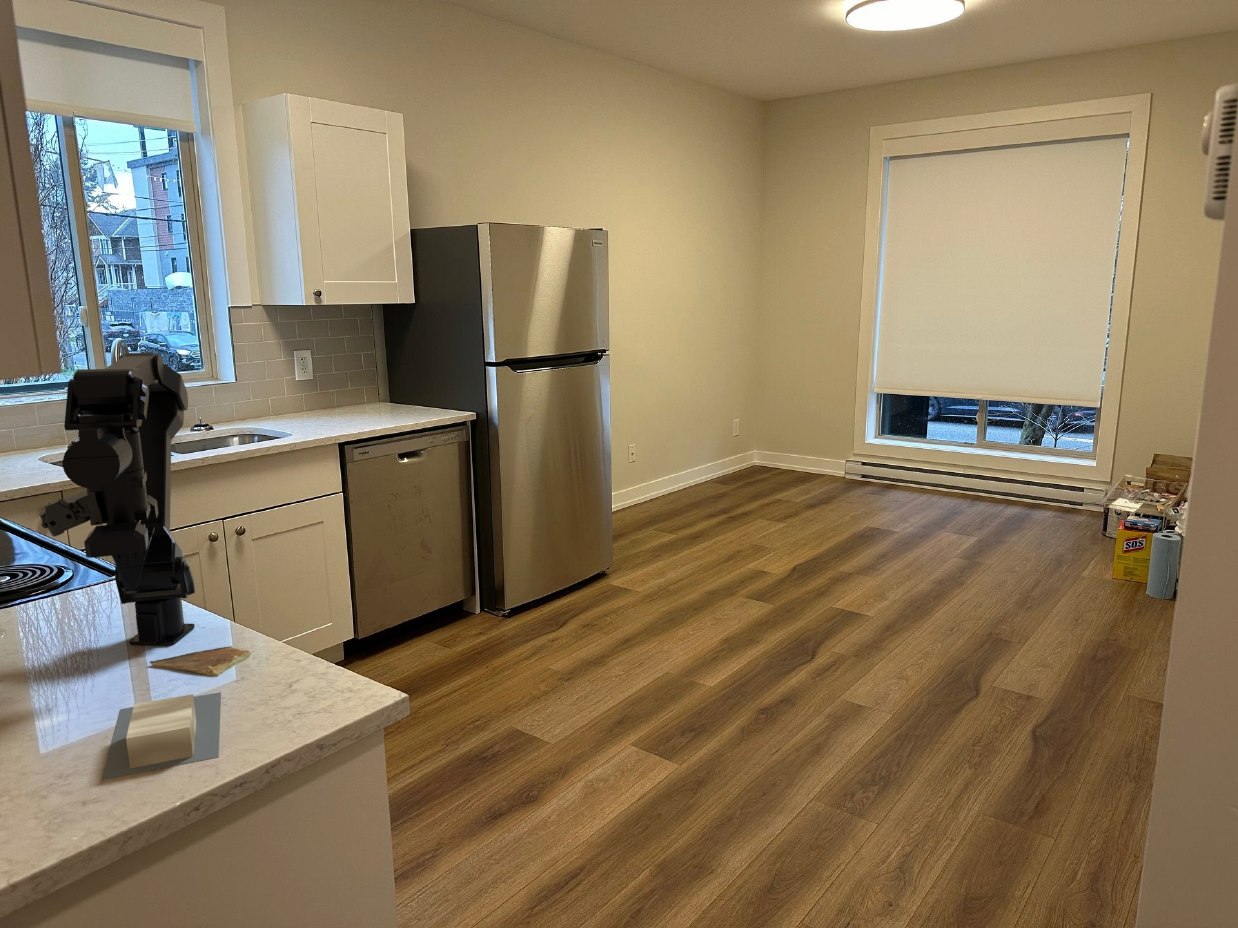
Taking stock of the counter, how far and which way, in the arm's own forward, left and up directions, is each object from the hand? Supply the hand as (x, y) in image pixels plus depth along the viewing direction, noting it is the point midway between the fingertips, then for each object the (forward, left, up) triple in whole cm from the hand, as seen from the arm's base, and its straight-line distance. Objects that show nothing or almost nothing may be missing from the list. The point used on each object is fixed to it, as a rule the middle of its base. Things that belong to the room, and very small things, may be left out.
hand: (131, 588), depth 110 cm
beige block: (+14, +11, -10) cm, 20 cm away
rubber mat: (+15, +11, -12) cm, 22 cm away
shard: (-2, +7, -13) cm, 15 cm away
